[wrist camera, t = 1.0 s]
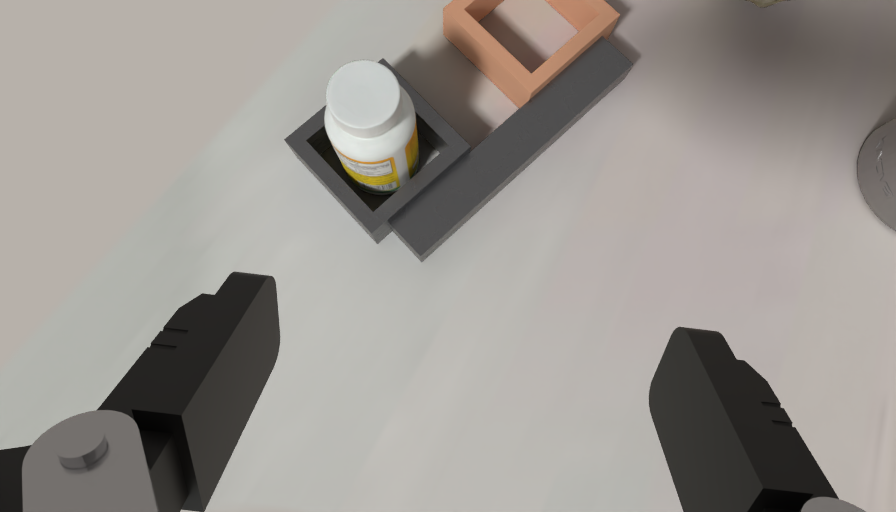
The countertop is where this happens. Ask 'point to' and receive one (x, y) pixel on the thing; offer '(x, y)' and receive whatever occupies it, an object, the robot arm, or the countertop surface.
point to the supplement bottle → (372, 127)
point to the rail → (466, 154)
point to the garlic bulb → (765, 2)
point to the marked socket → (460, 25)
